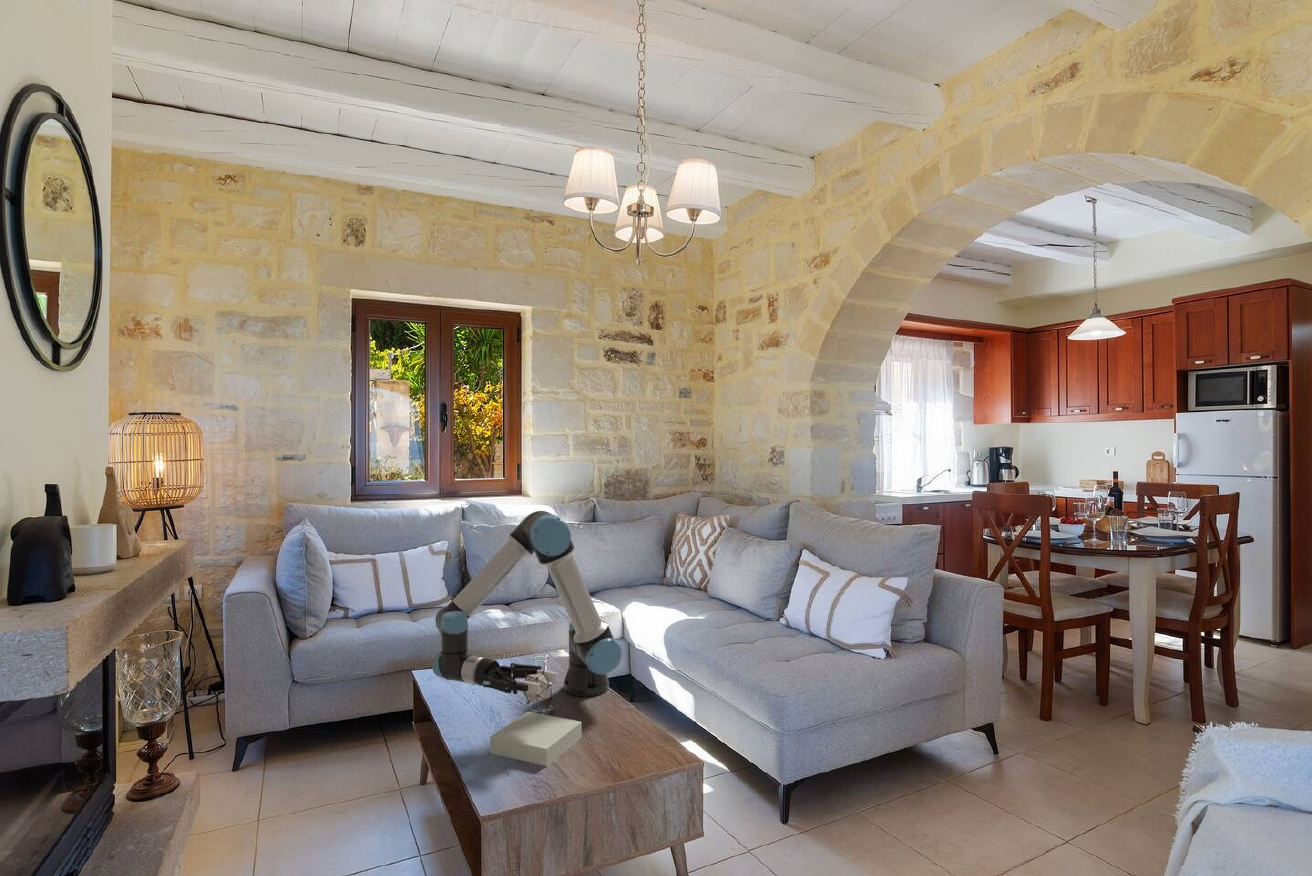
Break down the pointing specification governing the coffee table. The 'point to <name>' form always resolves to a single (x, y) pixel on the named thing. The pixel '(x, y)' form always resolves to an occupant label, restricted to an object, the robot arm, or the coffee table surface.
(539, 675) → the game die
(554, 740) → the base block
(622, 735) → the coffee table surface
